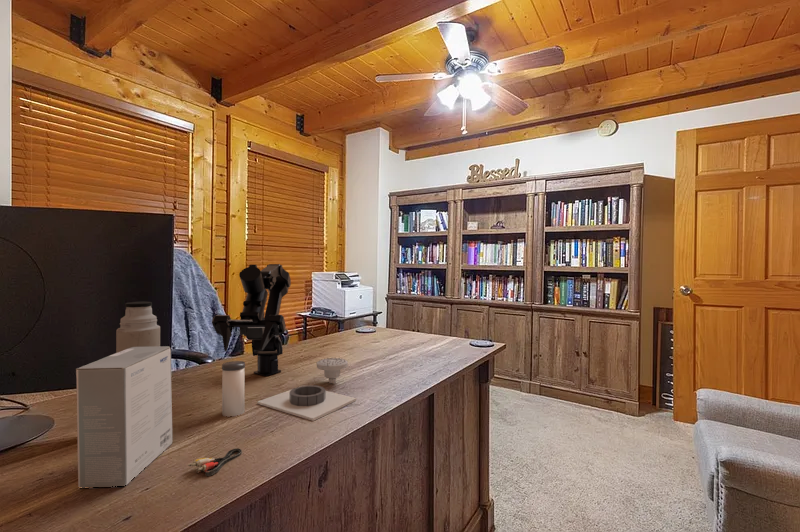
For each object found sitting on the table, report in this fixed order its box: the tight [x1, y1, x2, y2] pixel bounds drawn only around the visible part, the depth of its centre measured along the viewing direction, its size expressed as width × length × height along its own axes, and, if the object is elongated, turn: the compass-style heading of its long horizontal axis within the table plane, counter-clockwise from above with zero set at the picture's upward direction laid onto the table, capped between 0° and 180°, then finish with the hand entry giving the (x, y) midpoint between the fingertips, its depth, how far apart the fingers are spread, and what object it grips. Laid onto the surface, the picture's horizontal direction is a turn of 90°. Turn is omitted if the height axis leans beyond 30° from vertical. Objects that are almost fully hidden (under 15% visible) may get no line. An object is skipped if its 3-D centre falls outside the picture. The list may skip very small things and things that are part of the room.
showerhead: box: [316, 357, 349, 384], centre depth 118 cm, size 9×7×10 cm
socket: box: [257, 384, 357, 422], centre depth 102 cm, size 20×16×3 cm
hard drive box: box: [75, 345, 173, 488], centre depth 70 cm, size 16×8×20 cm, turn 5°
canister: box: [221, 360, 246, 418], centre depth 94 cm, size 5×5×12 cm
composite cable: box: [187, 447, 243, 477], centre depth 70 cm, size 10×5×2 cm, turn 147°
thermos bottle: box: [115, 301, 161, 353], centre depth 85 cm, size 8×8×28 cm
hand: (243, 350), depth 102 cm, fingers open, 9 cm apart
